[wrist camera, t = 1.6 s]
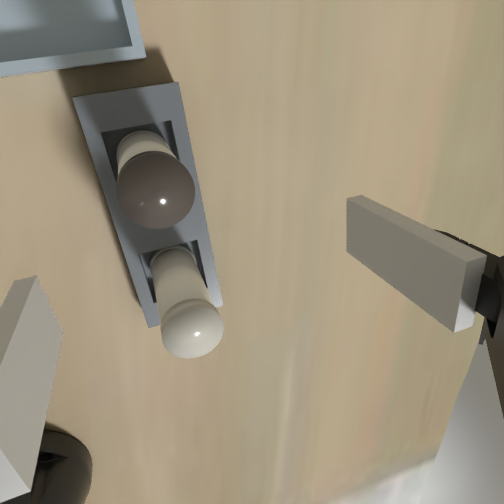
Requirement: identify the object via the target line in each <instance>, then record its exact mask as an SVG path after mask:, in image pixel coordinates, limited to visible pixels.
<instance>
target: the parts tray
mask: <svg viewBox="0 0 504 504" xmlns="http://www.w3.org/2000/svg"><path fill="white" fill-rule="evenodd" d="M144 58H146V53H145V49H144V44H143V40H142V36H141V31H140V27H139V23H138V18H137V14H136V10H135V5H134V1H133V0H0V77H7V76H15V75H23V74H30V73H38V72H45V71H53V70H60V69H68V68H76V67H83V66H91V65H98V64H106V63H113V62H121V61H129V60H136V59H144Z"/></svg>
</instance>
